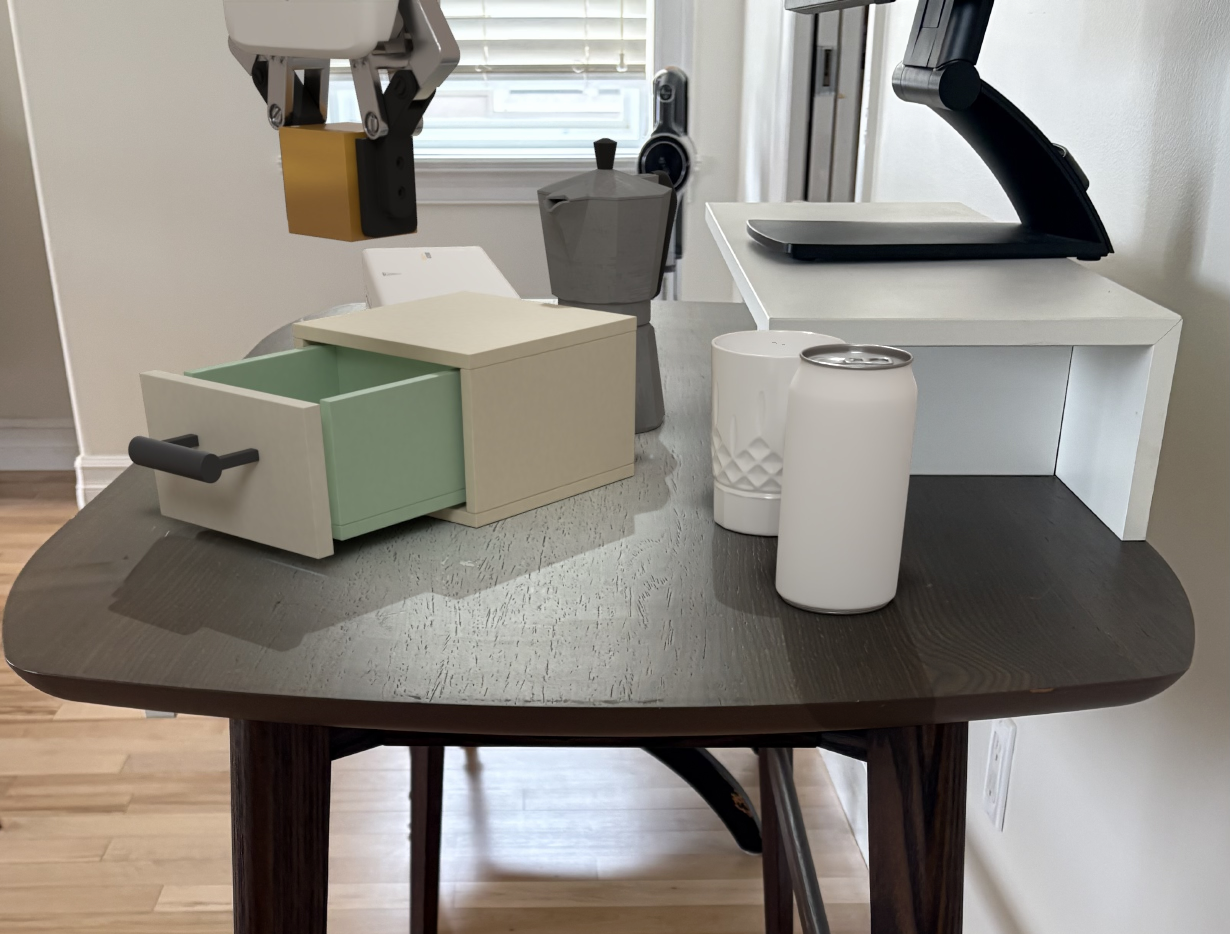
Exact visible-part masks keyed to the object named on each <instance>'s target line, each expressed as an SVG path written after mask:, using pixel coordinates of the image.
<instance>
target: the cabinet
mask: <svg viewBox="0 0 1230 934" xmlns="http://www.w3.org/2000/svg"><path fill="white" fill-rule="evenodd" d="M291 327H292V336H293V347H294V349H297V348H301V347H306V346H311V345H316V344H321V343H327V344H332V345H338V346H343V347H349V348H354V349H359V350H365V351H370V352H376V353H381V354H387V355H392V356H398V357H403V358H409V359H414V360H420V361H425V362H431V363H436V364H442V365H447V366H453V367H458V368H461V369H460V372H461V394H462V416H463V438H464V460H465V482H466V502H463V503H460V504H456V505H453V506H450V507H447V508H444V509H441V510H437V511H434V512H431V513H428V514H425V515H424V516H427V517H430V518H435V519H438V520H442V521H443V520H444V521H448V522H451V523H455V524H460V525H464V526H467V527H472V528H481V527H485V526H487V525H489V524H493V523H496V522H499V521H502V520H505V519H508V518H511V517H514V516H516V515H520V514H522V513H526V512H528V511H532V510H534V509H538V508H540V507H541V508H542V507H543V506H547V505H550V504H553V503H555V502H558V501H562V500H564V499H567V498H570V497H574V496H576V495H580V494H582V493H585V492H588V491H591V490H594V489H597V488H601V487H603V486H606V485H610V484H612V483H616V482H618V481H622V480H625V479H627V478H630V477H633V476H635V448H636V447H635V446H636V445H635V443H636V442H635V441H636V440H635V439H636V438H635V436H636V433H635V381H636V331H635V330H637V317H636V316H629V315H623V314H616V313H609V312H603V311H596V310H589V309H582V308H576V307H569V306H562V305H558V304H555V303H549V302H541V301H535V300H528V299H522V298H521V299H516V298H509V297H502V296H496V295H489V294H482V293H476V292H469V291H462V292H456V293H451V294H446V295H440V296H435V297H430V298H425V299H419V300H414V301H409V302H403V303H398V304H393V305H387V306H382V307H377V308H372V309H366V308H365V309H361V310H355V311H351V312H345V313H339V314H335V315H330V316H325V317H319V318H318V317H317V318H313V319H309V320H304V321H297V322H293V323H292V326H291Z"/></svg>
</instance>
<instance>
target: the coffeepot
mask: <svg viewBox="0 0 1230 934" xmlns="http://www.w3.org/2000/svg"><path fill="white" fill-rule="evenodd" d="M592 144H593V149H594V156H595V164H596V169H594V170H593V169H592V170H590V171H586V172H583V173H580V174H578V175H574V176H571V177H568V178H564V179H562V180H558V181H556V182H553V183H549V184H547V185H545V186H543V187H541V188H538V189H537V190H536V193H537V201H538V207H539V214H540V222H541V227H542V229H541V230H542V235H543V243H544V250H545V256H546V257H545V258H546V263H547V270H548V271H547V272H548V277H549V284H550V291H551V295H553V296H554V297H556V298H557V305H562V306H569V307H576V308H582V309H589V310H596V311H603V312H609V313H616V314H623V315H629V316H636V317H637V330H635V331H636V381H635V434H639V433H645V432H648V431H653V430H655V429H657V428H659V427H660V426H661V425H662V423H663V420H664V417H665V416H666V411H665V401H664V393H663V384H662V377H661V370H660V362H659V354H658V353H659V352H658V346H657V337H656V330H655V327H654V325H653V324H652V323H650V322H651V320H652V314H651V313H652V300H654V299H656V298H657V297H658V296H660V295H661V291H662V285H663V281H664V275H665V271H666V266H667V262H668V257H669V250H670V244H671V239H672V233H673V228H674V223H675V218H676V215H677V210H678V195H677V191H676V189H675V187H674V184H673V182H672V179H671V178H670V176H669V174H668V173H667V172H666V171H664V170H660V169H658V170H653V171H649V173H639V174H629V173H627V172H623V171H621V170H617V169H615V168H614V165H615V159H616V154H617V153H616V152H617V147H618V141H616V140H614V139H612V138H609V137H601V138H600V139H597V140H595V141H593V143H592Z"/></svg>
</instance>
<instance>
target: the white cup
mask: <svg viewBox="0 0 1230 934" xmlns="http://www.w3.org/2000/svg"><path fill="white" fill-rule="evenodd" d="M772 342H776V343H777V344H776V343H772ZM782 344H785V345H782ZM828 344H849V343H848V342H847V341H846V340H844V339H842V338H839V337H836V336H832V335H828V334H824V333H818V332H811V331H802V330H789V329H788V330H787V329H755V330H753V329H752V330H741V331H735V332H734V331H733V332H729V333H724V334H721V335H720V334H719V335H718V336H715V337H714V338H713V339H712V340H711V341H710V450H711V472H712V475H713V521H714V522H715V523H716V524H717V525H718V526H719V525H720V526H721V527H722V528H724V529H726V530H729V531H733V532H735V533H736V532H737V533H740V534H745V535H753V536H764V537H778V534H779V519H780V504H781V489H782V475H783V460H784V446H785V432H786V418H787V405H788V394H789V387H790V384H791V381H792V379H793V377H794V375H795V373H796V371H797V369H798V367H799V365H800V362H801V358H800V356H799V354H800V352H801V351H802V350H804V349H806V348H809V347H814V346H819V345H828Z"/></svg>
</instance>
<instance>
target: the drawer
mask: <svg viewBox="0 0 1230 934" xmlns="http://www.w3.org/2000/svg"><path fill="white" fill-rule="evenodd" d="M460 369H461V368H458V367H453V366H447V365H442V364H436V363H431V362H425V361H420V360H414V359H409V358H403V357H398V356H392V355H387V354H381V353H376V352H370V351H365V350H359V349H354V348H349V347H343V346H338V345H332V344H327V343H321V344H316V345H311V346H306V347H301V348H297V349H295V348H292V349H287V350H283V351H277V352H273V353H268V354H267V353H266V354H263V355H259V356H258V355H257V356H253V357H248V358H243V359H238V360H233V361H228V362H223V363H218V364H212V365H209V366H202V367H198V368H194V369H189V370H188V369H187V370H185V371H183V374H178V373H173V372H168V371H164V370H159V369H153V370H149V371H148V370H147V371H142V372H139V381H140V387H141V393H142V402H143V407H144V413H145V421H146V425H147V426H146V427H147V432H148V437H147V436H144V435H143V436H142V435H136V436H134V437H132V439H130V441H129V442H128V447H127V454H128V457H129V459H130V461H131V462H132V463H133V464H135V465H137V466H141V467H145V468H148V469H152V470H153V472H154V477H155V484H156V490H157V496H158V497H157V498H158V503H159V510H160V515H161V516H163V517H168V518H171V519H174V520H178V521H181V522H184V523H189V524H192V525H195V526H200V527H203V528H206V529H210V530H213V531H217V532H220V533H223V534H228V535H231V536H234V537H238V538H242V539H245V540H249V541H252V542H256V543H259V544H263V545H267V546H270V547H274V548H278V549H281V550H285V551H288V552H292V553H296V554H299V555H302V556H306V557H308V558H313V559H317V560H321V559H324V558H326V557H330V556H333V555H334V554H335V552H334V541H333V539H335V540H339V541H345V540H348V539H352V538H354V537H355V538H356V537H358V536H362V535H364V534H368V533H371V532H374V531H377V530H380V529H383V528H387V527H389V526H393V525H397V524H399V523H402V522H405V521H409V520H412V519H414V518H418V517H422V516H426V515H425V514H428V513H431V512H434V511H437V510H441V509H444V508H447V507H450V506H453V505H456V504H460V503H463V502H466V482H465V460H464V438H463V416H462V394H461V372H460Z"/></svg>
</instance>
